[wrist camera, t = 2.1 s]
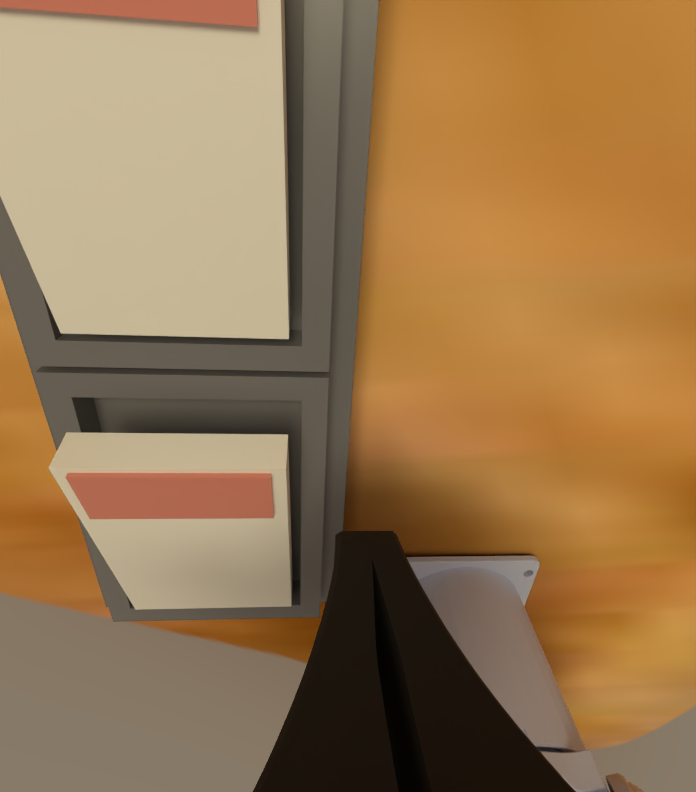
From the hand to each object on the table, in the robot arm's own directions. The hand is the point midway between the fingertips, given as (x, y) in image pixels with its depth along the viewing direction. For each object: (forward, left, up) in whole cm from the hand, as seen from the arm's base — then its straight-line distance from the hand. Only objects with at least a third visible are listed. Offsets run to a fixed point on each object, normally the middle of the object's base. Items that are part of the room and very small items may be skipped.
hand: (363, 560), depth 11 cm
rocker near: (+8, +5, -4) cm, 10 cm away
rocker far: (-3, +5, -4) cm, 7 cm away
